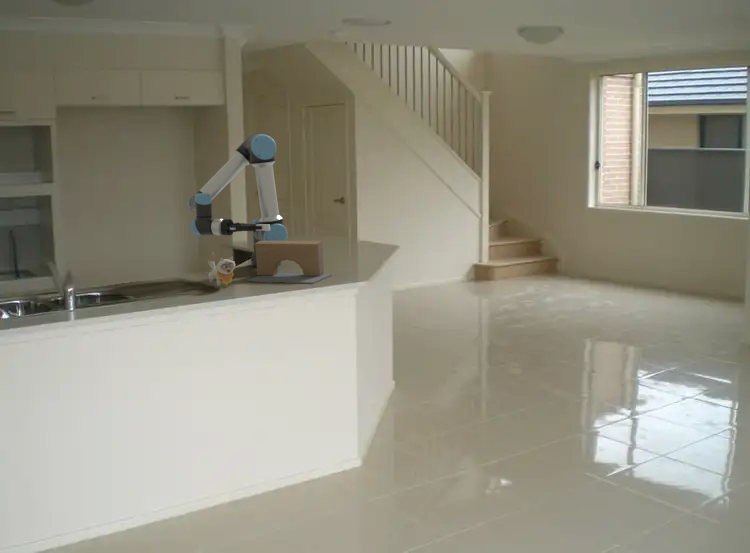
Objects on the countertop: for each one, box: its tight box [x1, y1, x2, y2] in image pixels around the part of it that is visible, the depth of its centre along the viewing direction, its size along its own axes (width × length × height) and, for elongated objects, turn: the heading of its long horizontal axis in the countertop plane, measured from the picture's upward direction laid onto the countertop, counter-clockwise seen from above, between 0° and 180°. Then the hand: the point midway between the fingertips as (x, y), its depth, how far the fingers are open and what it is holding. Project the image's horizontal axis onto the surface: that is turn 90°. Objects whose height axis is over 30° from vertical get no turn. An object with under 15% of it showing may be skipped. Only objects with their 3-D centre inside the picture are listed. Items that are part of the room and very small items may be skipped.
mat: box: [246, 272, 333, 285], centre depth 403 cm, size 22×32×1 cm
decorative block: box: [255, 240, 325, 276], centre depth 408 cm, size 15×8×30 cm
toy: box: [207, 251, 236, 288], centre depth 385 cm, size 9×19×15 cm, turn 36°
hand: (269, 227), depth 407 cm, fingers closed
